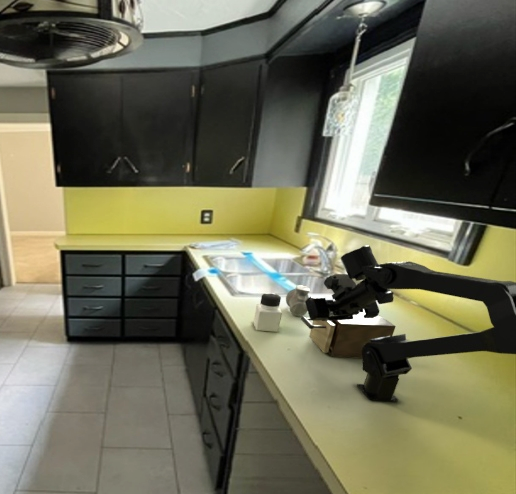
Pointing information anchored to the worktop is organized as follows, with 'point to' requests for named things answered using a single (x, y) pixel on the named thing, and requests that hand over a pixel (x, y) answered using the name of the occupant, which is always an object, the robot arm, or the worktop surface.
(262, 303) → the medicine bottle
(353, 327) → the cabinet
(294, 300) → the pipe fitting
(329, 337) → the drawer
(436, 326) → the worktop surface
